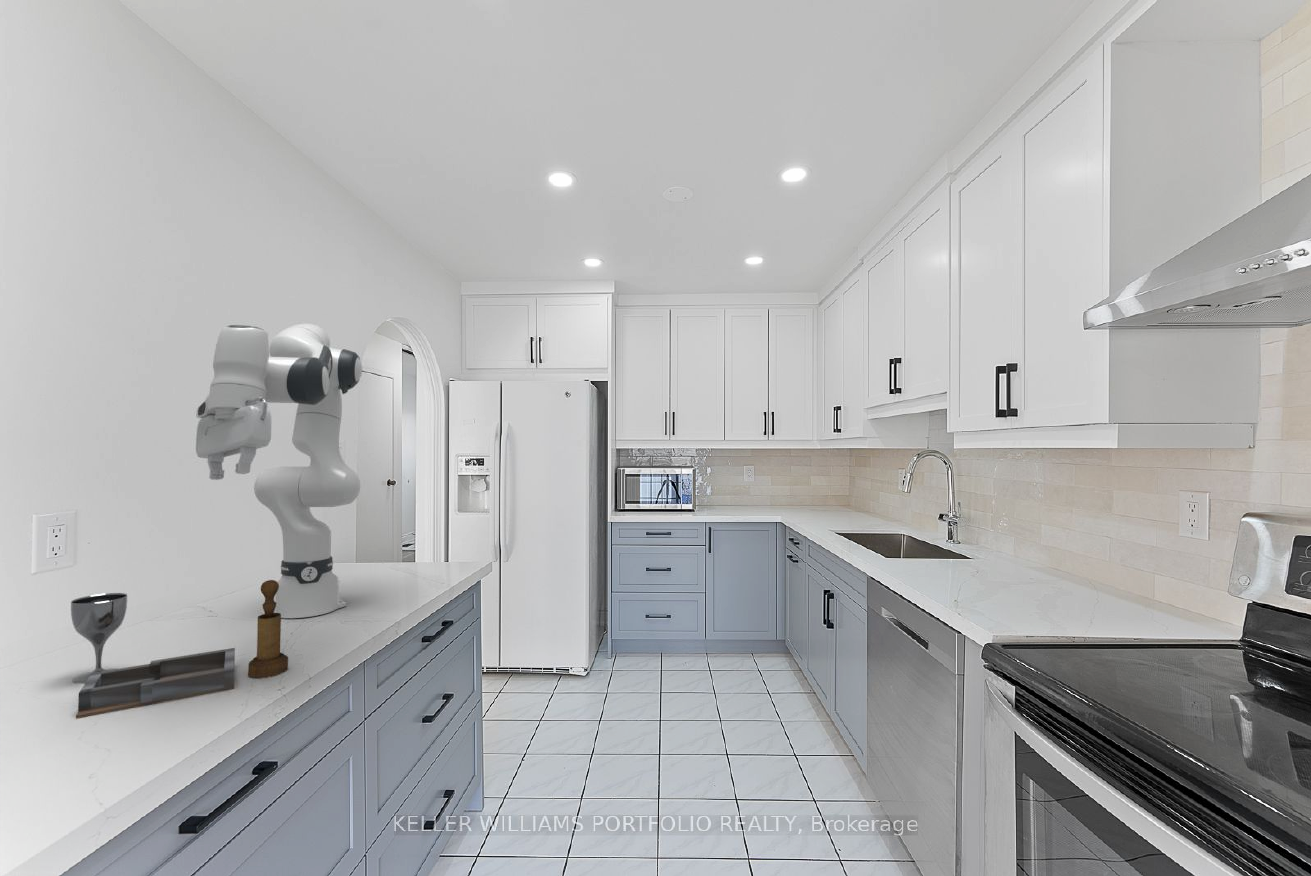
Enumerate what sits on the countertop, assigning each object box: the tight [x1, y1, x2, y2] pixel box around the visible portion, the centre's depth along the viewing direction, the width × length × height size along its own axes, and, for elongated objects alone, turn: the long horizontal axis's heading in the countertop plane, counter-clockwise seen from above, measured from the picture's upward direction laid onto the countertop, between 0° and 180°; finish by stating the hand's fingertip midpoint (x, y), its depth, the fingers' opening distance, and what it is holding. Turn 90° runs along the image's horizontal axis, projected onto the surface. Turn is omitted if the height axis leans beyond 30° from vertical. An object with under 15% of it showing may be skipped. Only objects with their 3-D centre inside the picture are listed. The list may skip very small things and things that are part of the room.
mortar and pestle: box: [247, 579, 289, 679], centre depth 116 cm, size 7×6×18 cm
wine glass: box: [70, 592, 128, 684], centre depth 114 cm, size 8×8×15 cm
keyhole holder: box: [75, 647, 236, 719], centre depth 108 cm, size 14×21×4 cm, turn 125°
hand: (229, 476), depth 109 cm, fingers open, 8 cm apart
